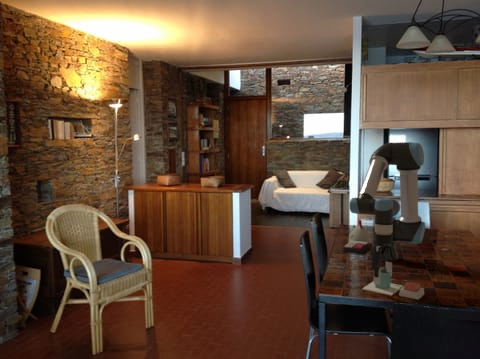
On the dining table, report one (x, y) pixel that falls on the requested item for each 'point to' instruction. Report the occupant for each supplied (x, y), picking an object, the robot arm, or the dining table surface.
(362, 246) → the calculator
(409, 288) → the button
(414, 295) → the button base
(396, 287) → the note pad
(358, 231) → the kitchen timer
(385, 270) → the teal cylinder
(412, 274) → the dining table surface
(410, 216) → the robot arm
